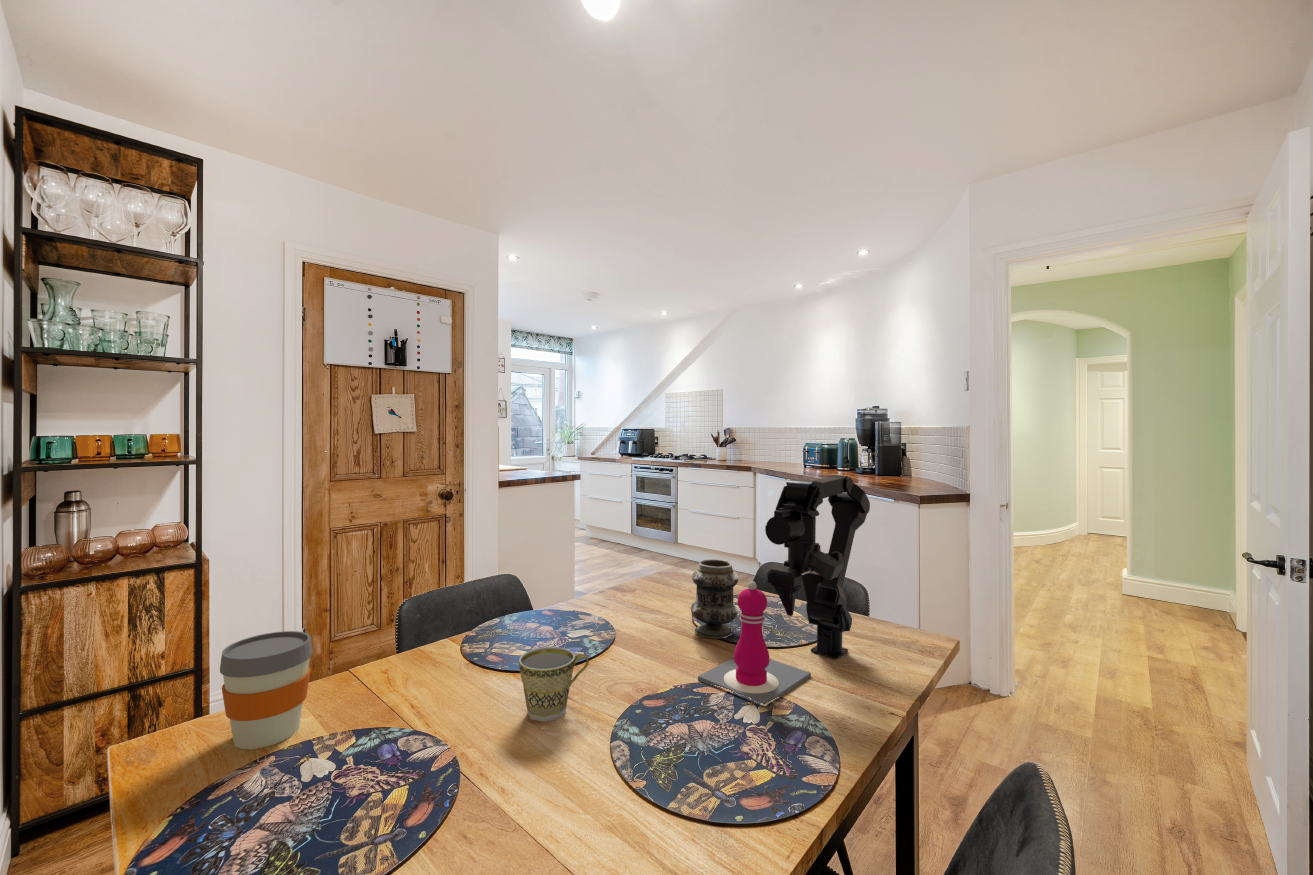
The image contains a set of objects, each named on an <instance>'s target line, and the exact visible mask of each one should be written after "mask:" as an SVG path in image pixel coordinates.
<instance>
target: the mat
mask: <svg viewBox="0 0 1313 875" xmlns="http://www.w3.org/2000/svg"><path fill="white" fill-rule="evenodd" d="M769 659H770V661H769V665H768V666H767V667H766V668H765V670H766V671H767V681H766V683H765V684H763V685H760V686H748V685H744V684H742V683H740V682H738V681H737V679H736V668H737V667H738V666H737V665H736V663H735V662H734V657H733V658H731V659H729V660H727V661H725V662H723V663H721V664H719V665H717V666H715V667H713V668H711V669H709V670H706V671H705V672H703V673H701V674H699V675H697V680H698V681H699V682H702V683H704V684H706V685H709V684H712V685H716V686H720V687H723V688H726V689H729V690H731V691H734V692H736V693H739V694H742V695H744V696H747V697H750V698H752V699H754V700H756V701H759V702H761V703H763V704H766V703H767V702H769V701H771V700H773V699H775V698H777V697H779V698H780V697H783V696H784V695H785V694H787V693H788V692H790V691H791V690H793V689H794V688H796V687H797V686H799V685H800V684H801V683H803V682H805V681H806V680H808V679H809V678H810V677H812V672H810V671H807V670H804V669H802V668H798V667H795V666H792V665H789V664H787V663H784V662H780V661H778V660H775V659H772V658H769ZM712 685H711V686H712Z"/></svg>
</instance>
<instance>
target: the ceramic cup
mask: <svg viewBox="0 0 1313 875" xmlns="http://www.w3.org/2000/svg"><path fill="white" fill-rule="evenodd" d="M581 659H585V660H586V663H585V664H584V666H583V667H582V668H580V670H579V671H578V672H577V673H576V674H575V676H574V677H573V673H574V667H575V665H576V663H577V662H579V660H581ZM589 664H590V660H589V657H588V656H587V655H586V654H585V653H579V654H577V655H575V653H574V652H573V651H571V650H570V649H567V648H564V647H558V646H546V647H539V648H534V649H531V650H529V651H527V652H524V653H523V654H522V655H520V657H519V658H518V668H519V673H520V678H521V682H522V685H523V686H522V687H523V693H524V699H525V706H526V710H527V711H526V712H527V715H528V716H529V718H530V720H532V721H538V722H541V723H545V722H546V723H547V722H550V721H554V720H555V721H556V720H558V719H560V718H561V717H562V716H563V715H564V714H565V713H566V711H567V706H568V698H569V693H570V688H571V686H572V684H573V683H574V682H575V681H576V680H577V678H579V676H580V675H581V674H582V673H583V672H584V671H585V670H586V669H587V667H588V666H589Z"/></svg>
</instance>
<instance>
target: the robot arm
mask: <svg viewBox="0 0 1313 875" xmlns="http://www.w3.org/2000/svg"><path fill="white" fill-rule="evenodd" d="M825 498H827V501H828V503H829V505H830V506H831V515H832V518H833V521H834V528H833V533H832V537H831V541H830V545H829V548H828V552H827V553H825V552H823V551H821V545H820V543H819V542H816V535H817V534H816V533H817V532H816V531H817V530H816V527H817V522H816V521H817V517H819V516H820V511H818V510H817V509H818V507H819V506H820V505H822V503H823V502H824V499H825ZM870 510H871V502H870V499H869V498H868V495H867V493H866V491H865V490H864V489H863V488H861V487H860V486H858V485H857V484H856V483H855V482H854V480H853V479H852V477H851V476H848V475H841V474H839V475H838V474H837V475H836V474H832V475H829V476H828V477H827V476H826V477H822V478H818V479H814V480H805V479H804V480H803V479H787V481H786V483H785V485H784V486H783V487H782V490H781V493H780V496H779V498H778V502H777V504H776V507H775V510H774V511H773V516H772V517H770V518H769V519H768V520H767V522H766V525H765V528H764V530H765V535H766V537H767V539H768V540H769V542H771V544H774V545H779V546H780V545H783V546H784V548H787V560H784V561H783V566H779V565H778V566H776V567H773V568H771V569H769V570H768V571H767V572H766V580H767V581H766V582H767V583H768V584H770V586H772V587H773V588H774V589H775V592H776V593H777V595H778V597H779V599H780V602H781V604H782V606H783V608H784V610H785V612H786V614H787V616H790V617H793V615H794V610H795V604H796V596H797V595H796V594H797V592H798V591H799V590H800V589H801V588H802V587H803V590H804V594H805V599H806V603H805V610H806V614H807V615H806V616H807V620H808V621H807V622H808V624H810V625H816V645H815V646H814V647H812V648H810V652H811V653H815V654H818V655H822V656H825V657H829V658H831V659H834V660H837V659H839V658H840V657H842V656H843V655H845V654H847V653H848V652H849V649H848V648H845V647H843V633H844V632H850V631H851V628H852V624H853V617H852V616H851V613H850V612H849V610H848V608H847V602H848V601H847V598H846V593H845V591H844V589H843V588H844V587H843V586H844V582H845V577H846V574H847V573H846V572H847V569H848V565H849V564H848V563H849V561H850V556H851V551H852V546H853V544H854V543H853V542H854V538H855V534H856V531H857V530H858V529H859V528H860V527H861V526H862V525H863V524H865V521H866V519H867V515H868V514H869V512H870ZM801 584H802V585H801Z"/></svg>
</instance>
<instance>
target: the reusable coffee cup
mask: <svg viewBox="0 0 1313 875" xmlns="http://www.w3.org/2000/svg"><path fill="white" fill-rule="evenodd" d="M312 656H313V644H312V637H311V635H310V634H309V633H308V632H303V631H299V630H295V631H294V630H289V631H288V630H287V631H284V630H283V631H275V632H274V631H273V632H269V633H262V634H257V635H253V636H249V637H247V638H242V639H241V640H238V641H235V642H233V643H231V644H229V645H227V646H226V647H225V648H223V650H222V652H221V659H220V663H219V664H220V665H219V673H220V674H221V675H222V676H223V685H222V686H221V692H222V699H223V705H224V712H225V716H226V717H227V718H228V719H229V721H230V728H231V734H232V741H233V746H234V747H236V748H237V749H242V750H257V749H261V748H262V749H263V748H268V747H271V746H273V745H276V744H279V743H281V742H283V741H286V740H287V739H289V738H290V737H292V736H293V735H295V734H296V733H297V732H298V731H299V729H300V724H301V717H302V711H303V704H304V701H305V700H306V699H307V697H308V696H307V694H308V691H309V690H308V688H309V682H310V677H311V676H310V675H311V668H310V666H309V665H310V658H311V657H312Z"/></svg>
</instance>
